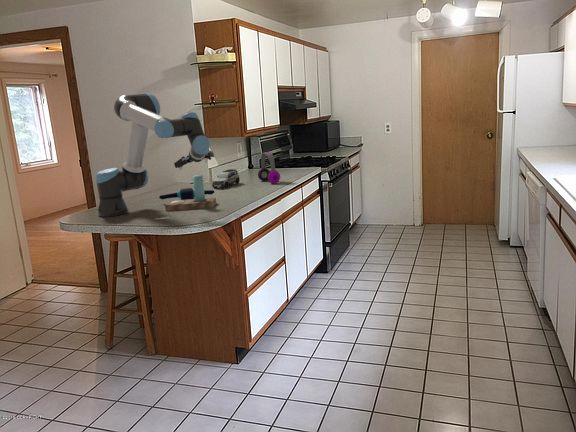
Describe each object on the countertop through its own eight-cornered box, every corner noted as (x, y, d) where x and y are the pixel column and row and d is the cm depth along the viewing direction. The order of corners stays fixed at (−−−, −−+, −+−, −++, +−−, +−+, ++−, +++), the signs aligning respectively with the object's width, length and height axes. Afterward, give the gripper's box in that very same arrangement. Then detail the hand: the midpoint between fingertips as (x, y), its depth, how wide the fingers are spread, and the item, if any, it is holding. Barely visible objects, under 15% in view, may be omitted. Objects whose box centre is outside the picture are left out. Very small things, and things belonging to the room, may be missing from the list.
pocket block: (166, 212, 256) (165, 204, 255) (172, 208, 268) (171, 200, 267) (212, 209, 255) (211, 201, 254) (216, 205, 267) (215, 197, 266)
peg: (195, 207, 259) (191, 176, 255) (197, 205, 264) (193, 175, 260) (204, 206, 258) (201, 176, 255) (206, 205, 263) (203, 174, 260)
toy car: (210, 189, 321) (208, 174, 318) (224, 183, 344) (222, 169, 341) (229, 189, 317) (227, 173, 315) (241, 182, 340) (240, 168, 338)
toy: (162, 200, 300) (158, 207, 271) (160, 186, 299) (157, 192, 270) (213, 195, 306) (216, 202, 276) (212, 181, 304) (214, 187, 275)
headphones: (257, 181, 341) (254, 152, 336) (269, 179, 344) (267, 150, 340) (269, 184, 322) (266, 153, 318) (281, 183, 326) (279, 152, 321)
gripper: (174, 167, 231) (171, 177, 251) (225, 152, 239) (217, 163, 260) (169, 152, 232) (166, 163, 252) (219, 138, 240) (213, 150, 260)
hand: (192, 163), depth 256 cm, fingers open, 13 cm apart
